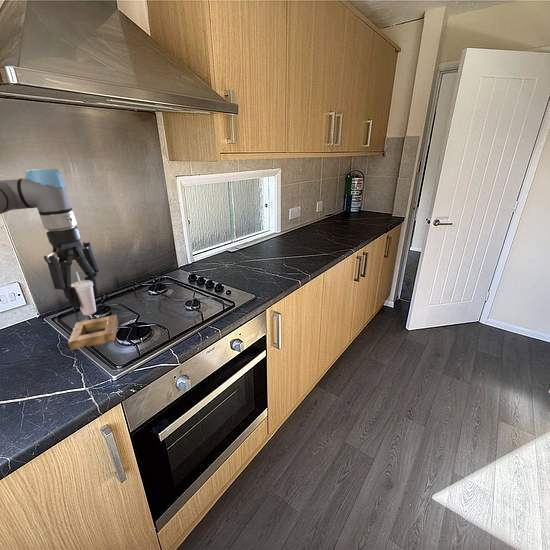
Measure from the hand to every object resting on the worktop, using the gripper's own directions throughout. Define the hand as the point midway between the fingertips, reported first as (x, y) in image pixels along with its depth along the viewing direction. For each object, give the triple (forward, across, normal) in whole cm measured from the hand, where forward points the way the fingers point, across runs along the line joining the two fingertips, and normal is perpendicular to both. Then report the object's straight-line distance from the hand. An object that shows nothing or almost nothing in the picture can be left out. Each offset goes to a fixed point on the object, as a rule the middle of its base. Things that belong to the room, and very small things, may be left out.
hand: (85, 301), depth 90 cm
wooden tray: (+13, 0, 0) cm, 13 cm away
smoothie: (+4, 0, 0) cm, 4 cm away
